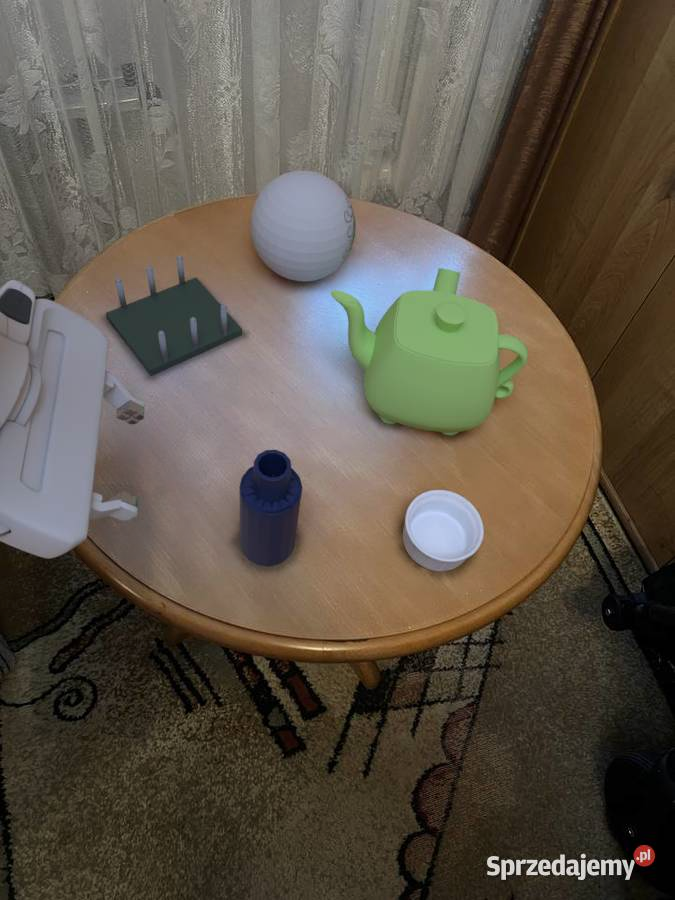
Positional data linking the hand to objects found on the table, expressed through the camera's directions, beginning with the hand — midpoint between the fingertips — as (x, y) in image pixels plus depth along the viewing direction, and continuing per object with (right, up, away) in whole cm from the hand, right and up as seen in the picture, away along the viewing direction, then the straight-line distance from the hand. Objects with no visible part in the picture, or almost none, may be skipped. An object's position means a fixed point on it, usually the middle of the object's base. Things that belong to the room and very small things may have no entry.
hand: (137, 460), depth 54 cm
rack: (-6, +18, +35) cm, 40 cm away
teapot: (+27, +10, +35) cm, 45 cm away
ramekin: (+28, -10, +21) cm, 37 cm away
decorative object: (+11, +28, +45) cm, 54 cm away
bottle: (+9, -9, +19) cm, 23 cm away
